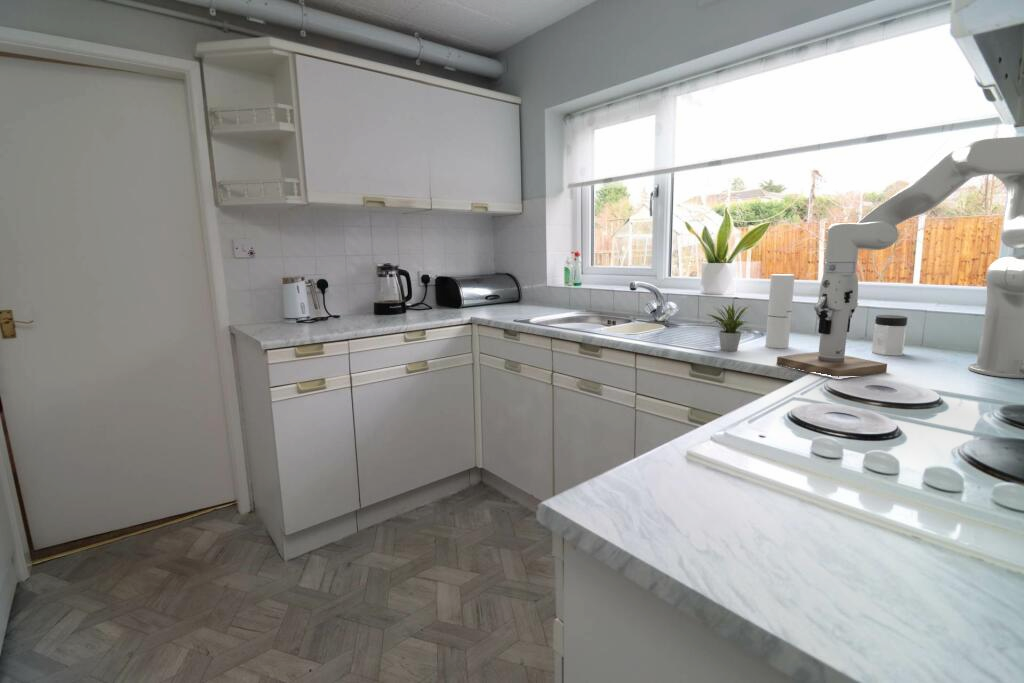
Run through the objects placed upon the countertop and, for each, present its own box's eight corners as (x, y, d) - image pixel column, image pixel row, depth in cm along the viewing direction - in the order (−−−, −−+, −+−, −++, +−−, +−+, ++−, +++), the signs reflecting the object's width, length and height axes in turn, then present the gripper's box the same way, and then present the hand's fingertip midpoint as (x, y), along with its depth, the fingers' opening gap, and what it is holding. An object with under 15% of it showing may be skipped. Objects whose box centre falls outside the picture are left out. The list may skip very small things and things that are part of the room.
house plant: (731, 344, 181) (734, 299, 178) (762, 351, 168) (766, 302, 165) (699, 347, 176) (702, 301, 173) (729, 354, 163) (733, 304, 160)
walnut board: (886, 372, 138) (887, 363, 137) (838, 379, 131) (839, 370, 131) (822, 358, 155) (822, 351, 155) (776, 364, 148) (777, 356, 148)
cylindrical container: (793, 347, 174) (799, 274, 169) (777, 349, 171) (784, 275, 166) (775, 343, 180) (781, 273, 176) (760, 345, 178) (766, 274, 173)
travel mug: (844, 363, 138) (852, 291, 135) (816, 360, 142) (823, 290, 139) (846, 359, 143) (853, 289, 140) (819, 356, 147) (826, 288, 143)
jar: (864, 351, 165) (868, 315, 163) (882, 349, 168) (886, 314, 166) (891, 356, 157) (896, 318, 155) (910, 354, 159) (915, 317, 157)
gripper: (830, 270, 131) (824, 337, 135) (875, 268, 138) (867, 332, 141) (805, 269, 138) (799, 333, 142) (848, 267, 144) (842, 328, 148)
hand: (833, 332), depth 141 cm, fingers open, 6 cm apart
